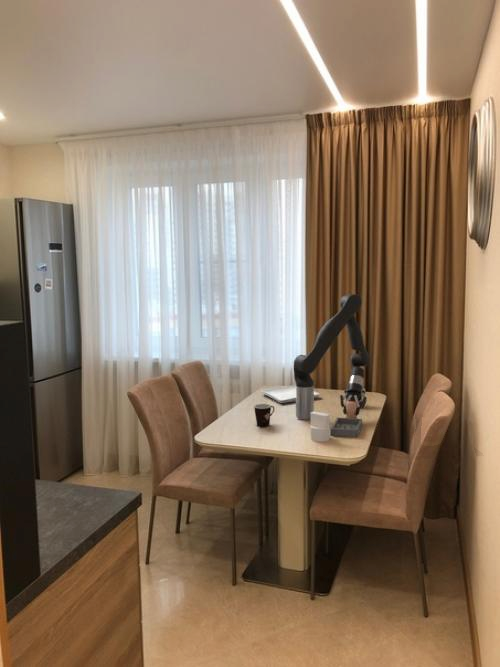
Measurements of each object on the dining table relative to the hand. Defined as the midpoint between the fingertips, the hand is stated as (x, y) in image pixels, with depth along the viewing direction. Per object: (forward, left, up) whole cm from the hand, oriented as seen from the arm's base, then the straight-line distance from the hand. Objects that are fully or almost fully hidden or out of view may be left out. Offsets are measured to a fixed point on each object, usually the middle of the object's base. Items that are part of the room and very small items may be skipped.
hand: (350, 414), depth 279 cm
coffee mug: (-43, +4, -4) cm, 44 cm away
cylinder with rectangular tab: (-20, -21, -5) cm, 30 cm away
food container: (+10, +30, -5) cm, 32 cm away
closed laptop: (-23, +56, -5) cm, 60 cm away
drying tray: (-5, -12, -4) cm, 14 cm away
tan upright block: (+1, +2, -4) cm, 5 cm away
